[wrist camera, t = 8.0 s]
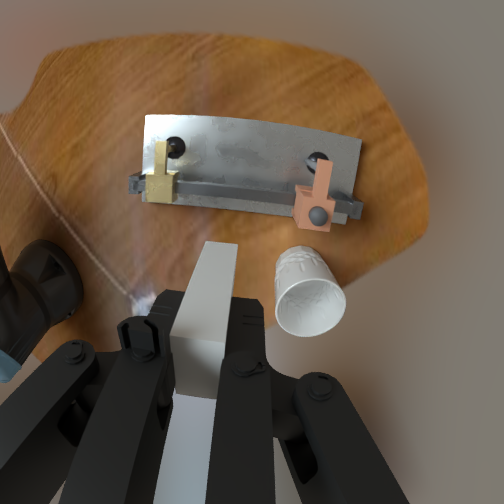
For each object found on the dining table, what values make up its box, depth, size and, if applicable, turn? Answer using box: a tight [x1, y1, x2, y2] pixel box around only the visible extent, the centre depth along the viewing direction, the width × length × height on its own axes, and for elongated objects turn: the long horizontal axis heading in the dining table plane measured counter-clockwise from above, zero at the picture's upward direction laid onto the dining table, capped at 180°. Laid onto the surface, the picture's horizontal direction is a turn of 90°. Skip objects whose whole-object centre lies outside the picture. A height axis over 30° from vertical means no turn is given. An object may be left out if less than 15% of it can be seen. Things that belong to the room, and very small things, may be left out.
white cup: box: [275, 246, 346, 337], centre depth 34 cm, size 8×8×10 cm
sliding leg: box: [291, 159, 336, 232], centre depth 27 cm, size 3×7×9 cm, turn 173°
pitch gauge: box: [129, 115, 364, 224], centre depth 29 cm, size 26×11×7 cm, turn 83°
